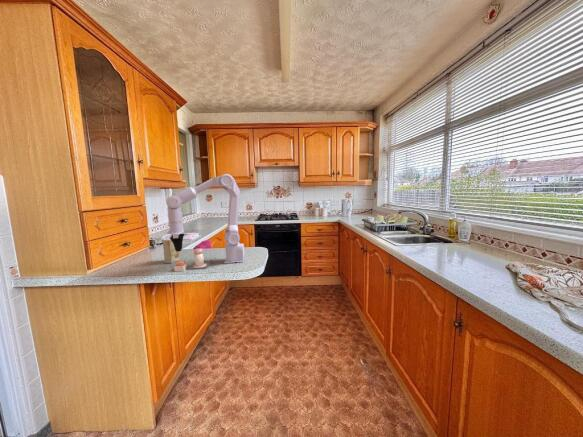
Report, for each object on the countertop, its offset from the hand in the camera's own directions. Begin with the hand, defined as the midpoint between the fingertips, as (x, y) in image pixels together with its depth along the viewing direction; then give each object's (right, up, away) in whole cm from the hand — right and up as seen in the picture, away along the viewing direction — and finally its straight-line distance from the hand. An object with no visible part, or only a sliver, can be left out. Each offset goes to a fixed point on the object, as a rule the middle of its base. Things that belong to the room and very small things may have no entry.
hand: (179, 250), depth 108 cm
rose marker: (+8, -8, +4) cm, 12 cm away
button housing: (0, -9, +1) cm, 9 cm away
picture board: (+8, -8, +6) cm, 13 cm away
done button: (0, -8, +1) cm, 8 cm away
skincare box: (-11, -8, +15) cm, 20 cm away
